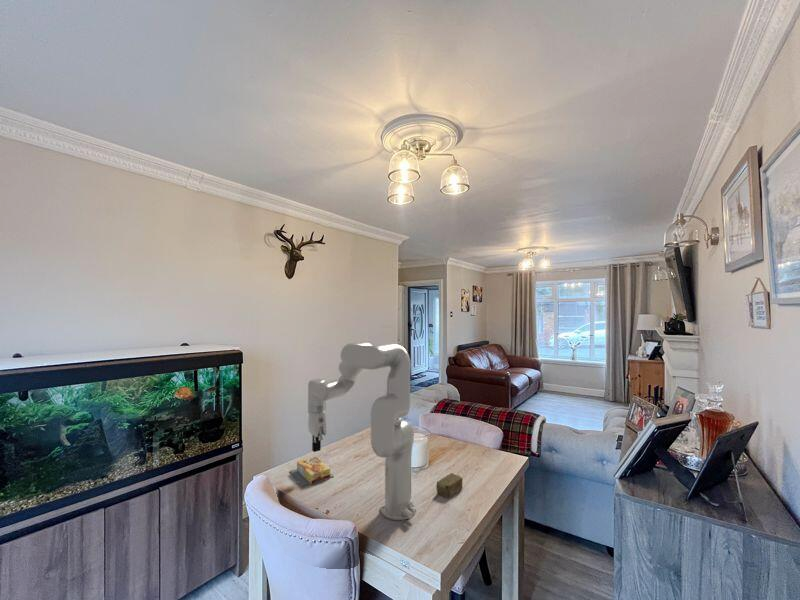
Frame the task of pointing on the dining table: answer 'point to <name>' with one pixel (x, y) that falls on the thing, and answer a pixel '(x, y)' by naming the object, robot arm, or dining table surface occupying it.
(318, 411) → the robot arm
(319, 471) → the candy box
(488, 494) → the dining table surface
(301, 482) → the mat
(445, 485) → the stone block
